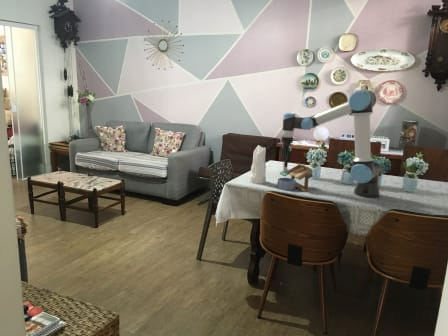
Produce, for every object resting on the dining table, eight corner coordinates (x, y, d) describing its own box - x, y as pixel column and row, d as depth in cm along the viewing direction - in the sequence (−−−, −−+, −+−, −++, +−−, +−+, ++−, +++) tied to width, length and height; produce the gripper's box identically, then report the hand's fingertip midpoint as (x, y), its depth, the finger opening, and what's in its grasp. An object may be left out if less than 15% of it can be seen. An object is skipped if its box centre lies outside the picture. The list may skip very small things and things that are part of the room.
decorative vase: (264, 184, 243) (267, 147, 238) (248, 182, 245) (251, 146, 240) (266, 180, 254) (268, 145, 249) (251, 179, 256) (253, 144, 251)
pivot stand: (310, 191, 231) (311, 176, 229) (302, 191, 229) (303, 176, 227) (295, 183, 250) (296, 169, 247) (287, 183, 248) (288, 169, 246)
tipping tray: (314, 176, 232) (311, 168, 230) (297, 186, 230) (294, 178, 228) (297, 168, 253) (294, 161, 251) (281, 177, 251) (278, 170, 249)
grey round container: (298, 189, 233) (298, 181, 232) (282, 190, 230) (283, 182, 229) (290, 185, 244) (290, 177, 242) (275, 186, 240) (275, 178, 239)
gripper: (278, 135, 247) (275, 168, 252) (286, 137, 235) (283, 173, 240) (288, 135, 249) (285, 168, 254) (297, 138, 237) (294, 173, 242)
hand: (284, 170), depth 247 cm, fingers closed
